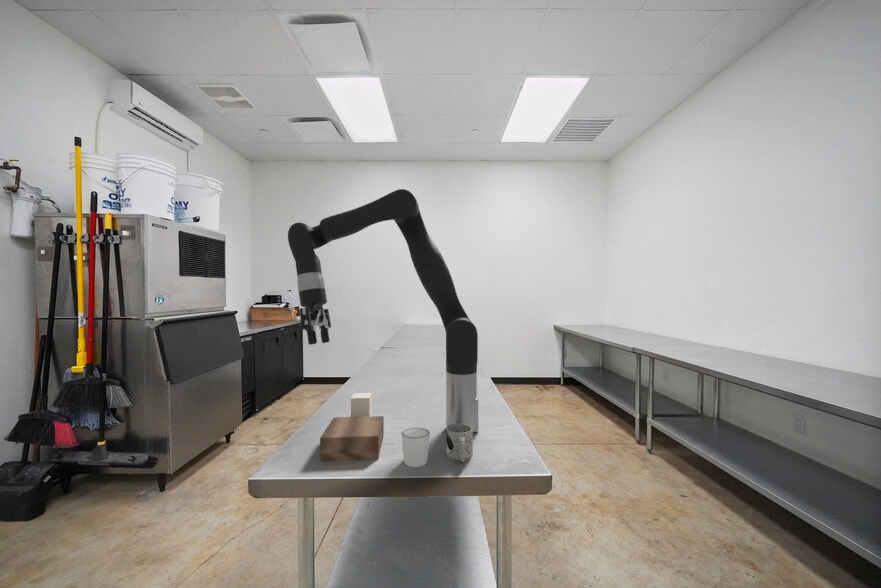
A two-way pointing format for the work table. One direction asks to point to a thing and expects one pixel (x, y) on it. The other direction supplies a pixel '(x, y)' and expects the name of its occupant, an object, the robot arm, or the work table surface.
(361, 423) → the walnut block
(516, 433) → the work table surface
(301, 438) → the work table surface
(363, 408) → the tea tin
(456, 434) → the mug
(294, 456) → the work table surface
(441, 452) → the work table surface
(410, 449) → the shot glass
